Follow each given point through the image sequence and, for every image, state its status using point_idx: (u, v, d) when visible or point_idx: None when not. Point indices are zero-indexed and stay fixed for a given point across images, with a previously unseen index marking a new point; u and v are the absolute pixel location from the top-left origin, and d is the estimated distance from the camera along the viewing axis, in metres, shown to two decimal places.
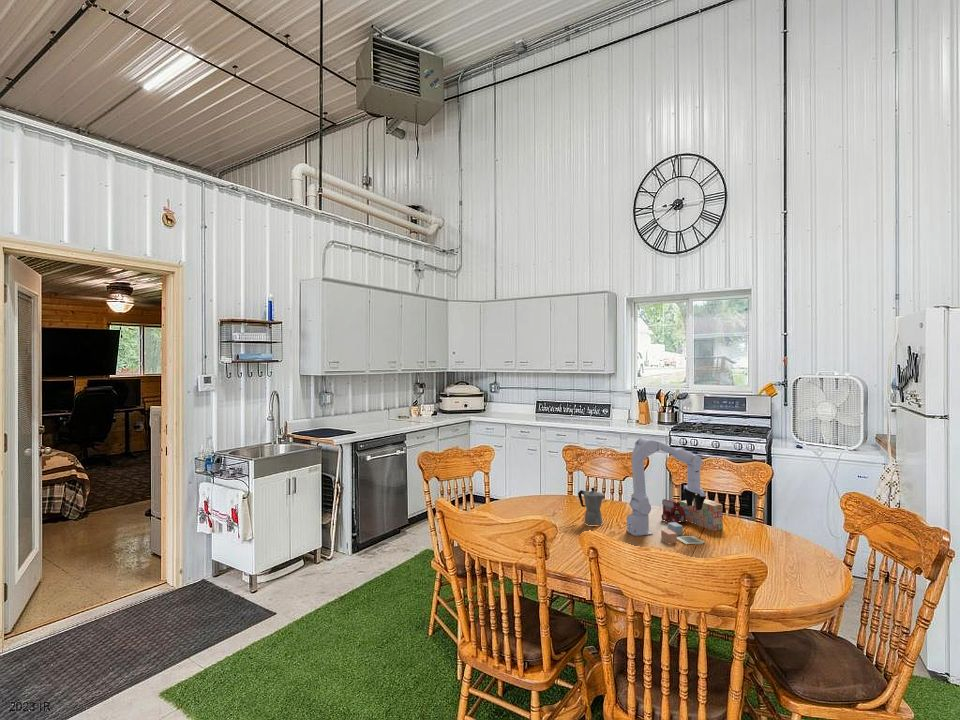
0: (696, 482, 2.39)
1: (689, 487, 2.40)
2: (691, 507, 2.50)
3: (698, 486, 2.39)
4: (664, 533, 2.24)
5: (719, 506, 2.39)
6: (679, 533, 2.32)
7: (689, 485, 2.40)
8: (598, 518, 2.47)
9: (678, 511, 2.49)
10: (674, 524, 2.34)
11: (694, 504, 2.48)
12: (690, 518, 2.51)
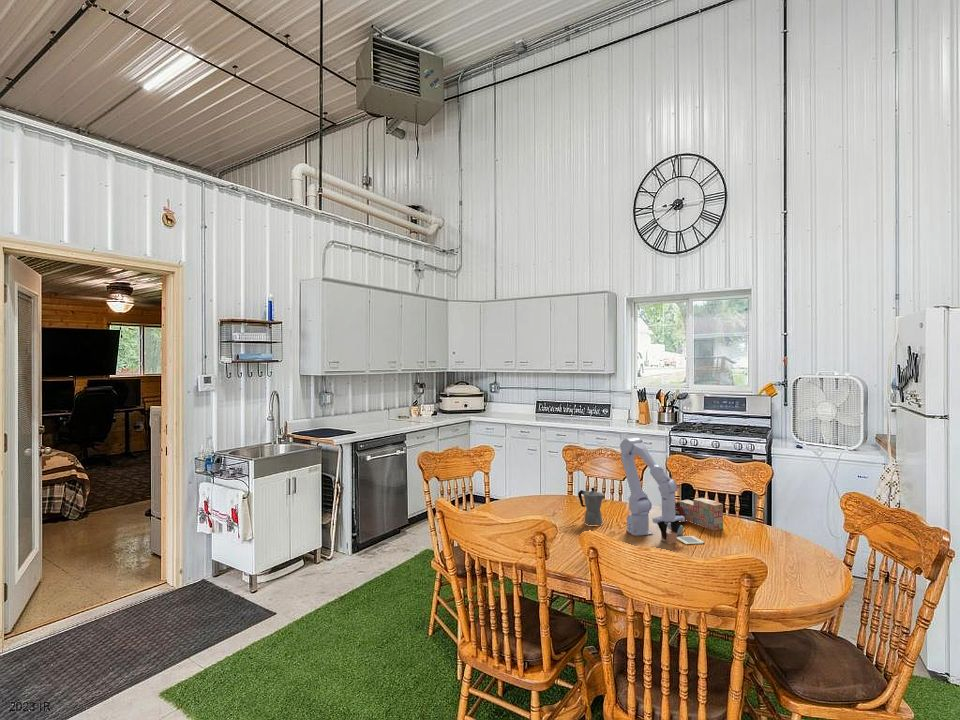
0: (662, 509, 2.25)
1: None
2: (691, 507, 2.50)
3: (663, 514, 2.23)
4: None
5: (719, 505, 2.40)
6: (679, 533, 2.32)
7: None
8: (598, 518, 2.47)
9: (678, 511, 2.49)
10: None
11: (694, 504, 2.48)
12: (689, 518, 2.51)
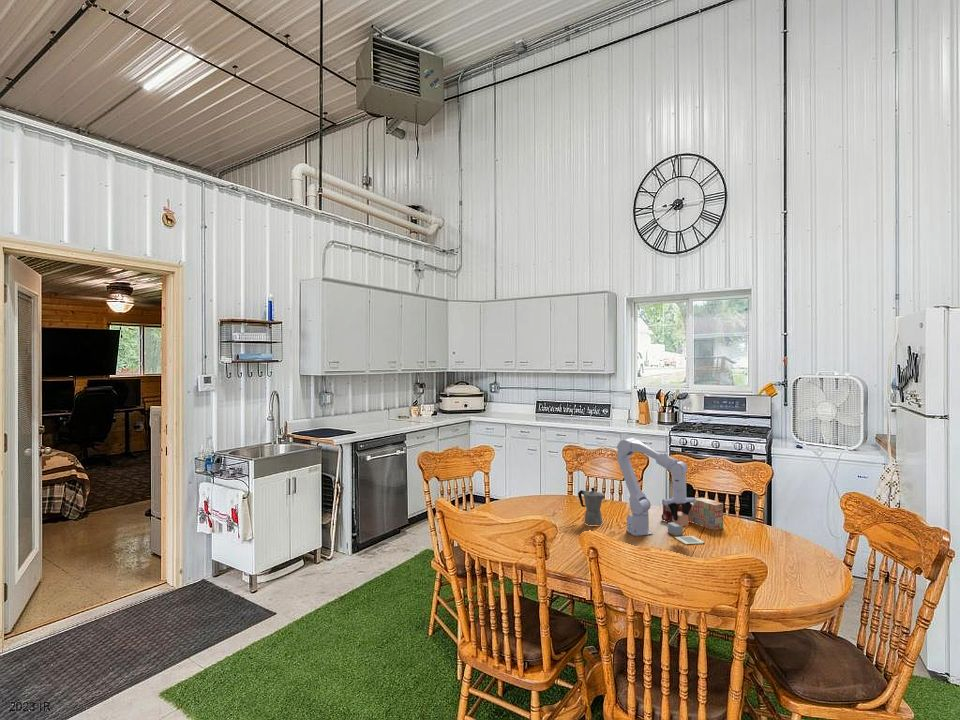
0: (673, 491, 2.25)
1: None
2: (691, 507, 2.51)
3: (674, 496, 2.23)
4: None
5: (720, 505, 2.40)
6: (679, 533, 2.32)
7: None
8: (598, 518, 2.47)
9: (678, 511, 2.49)
10: (674, 524, 2.34)
11: (694, 504, 2.49)
12: (689, 518, 2.51)
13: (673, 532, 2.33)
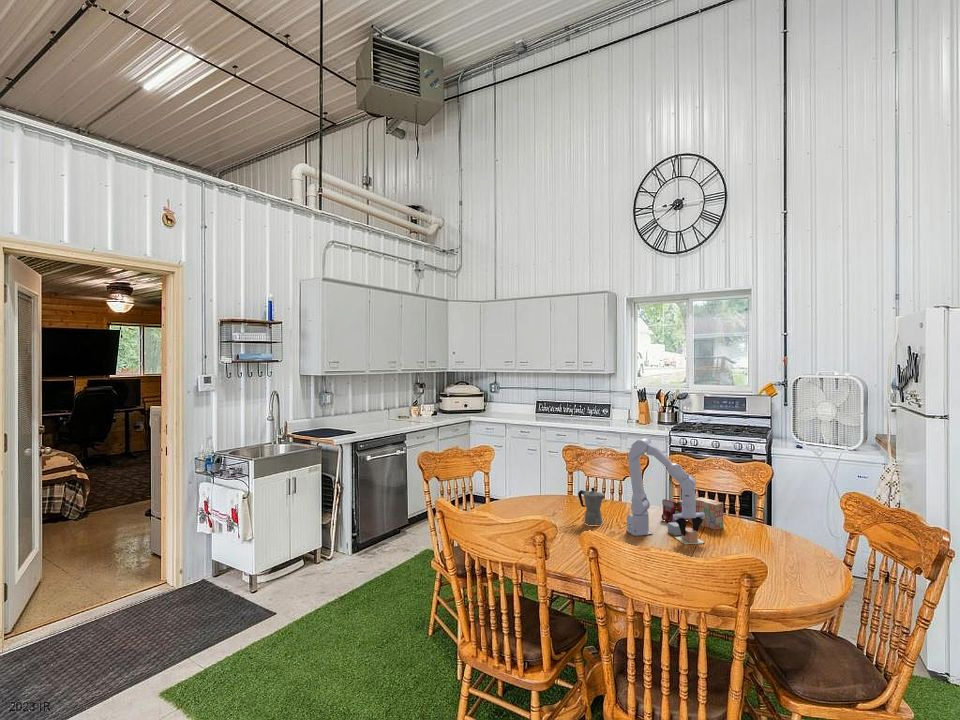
0: (682, 506, 2.25)
1: None
2: None
3: (684, 511, 2.23)
4: None
5: (720, 505, 2.41)
6: (679, 533, 2.32)
7: None
8: (598, 518, 2.47)
9: (678, 511, 2.49)
10: (674, 524, 2.34)
11: None
12: (689, 518, 2.52)
13: (673, 532, 2.32)
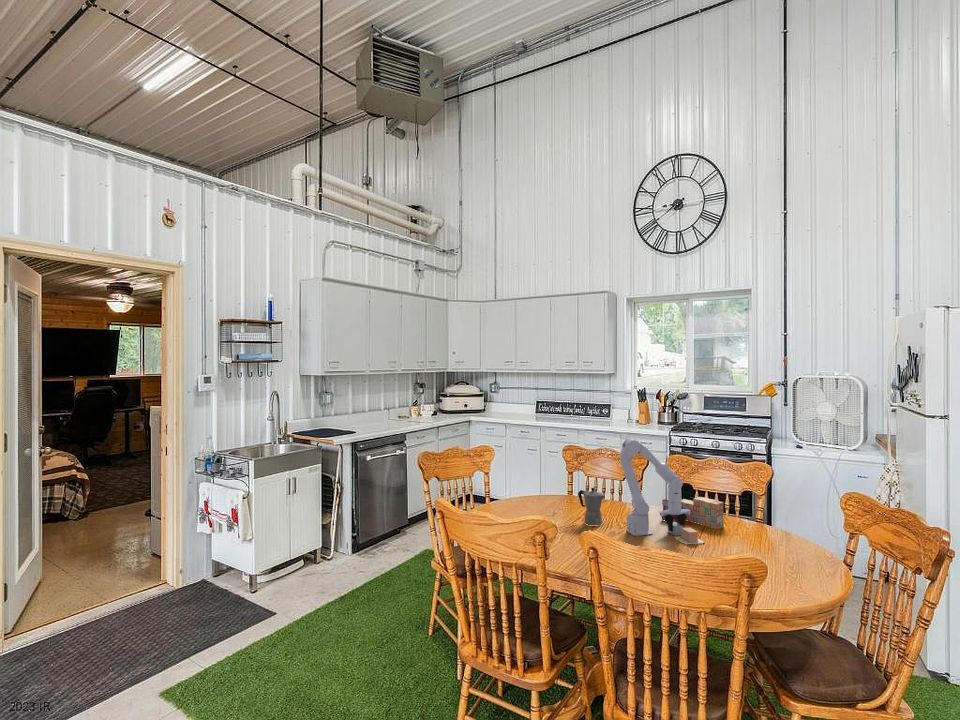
0: (668, 503, 2.35)
1: None
2: (691, 506, 2.51)
3: (670, 508, 2.34)
4: (685, 531, 2.24)
5: (720, 504, 2.42)
6: (679, 533, 2.32)
7: None
8: (598, 518, 2.47)
9: None
10: (674, 524, 2.34)
11: (694, 503, 2.49)
12: (689, 518, 2.52)
13: (673, 532, 2.32)
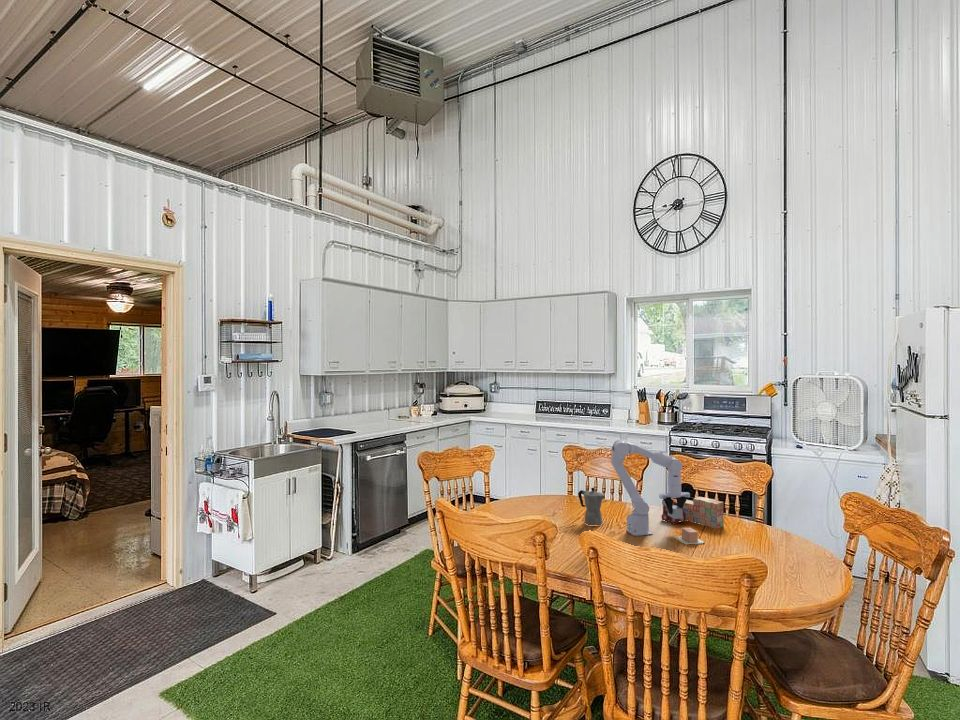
0: (668, 486, 2.35)
1: None
2: (691, 506, 2.51)
3: (669, 490, 2.34)
4: (685, 531, 2.24)
5: (720, 504, 2.43)
6: (679, 516, 2.32)
7: None
8: (598, 518, 2.47)
9: None
10: (674, 507, 2.35)
11: (694, 503, 2.50)
12: (689, 518, 2.52)
13: (673, 515, 2.33)
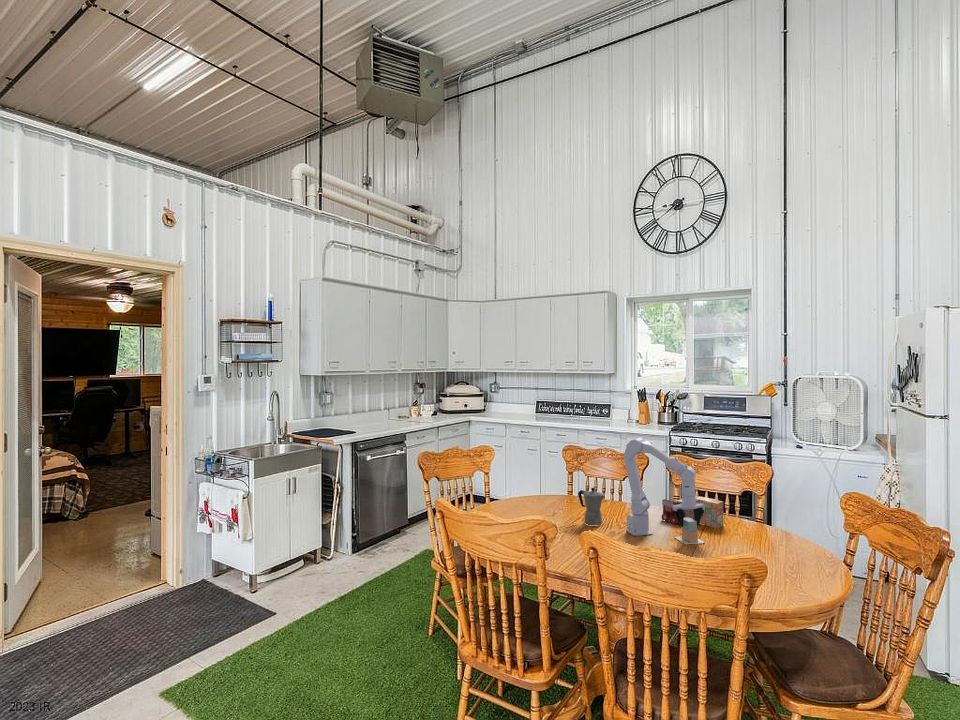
0: (682, 497, 2.25)
1: None
2: None
3: (683, 502, 2.23)
4: (685, 531, 2.24)
5: (721, 503, 2.44)
6: (693, 529, 2.22)
7: None
8: (598, 518, 2.47)
9: None
10: (687, 519, 2.25)
11: None
12: None
13: (686, 527, 2.23)
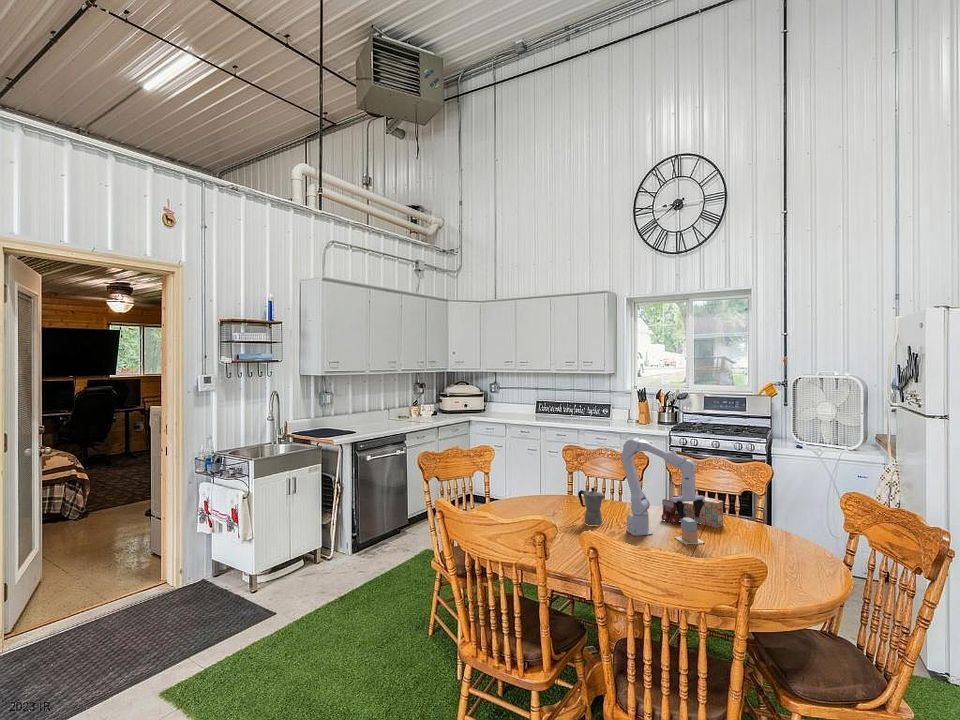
0: (682, 489, 2.25)
1: None
2: (690, 506, 2.52)
3: (683, 494, 2.24)
4: (685, 531, 2.24)
5: (721, 503, 2.44)
6: (693, 529, 2.22)
7: None
8: (598, 518, 2.47)
9: None
10: (687, 519, 2.25)
11: None
12: None
13: (686, 527, 2.23)
